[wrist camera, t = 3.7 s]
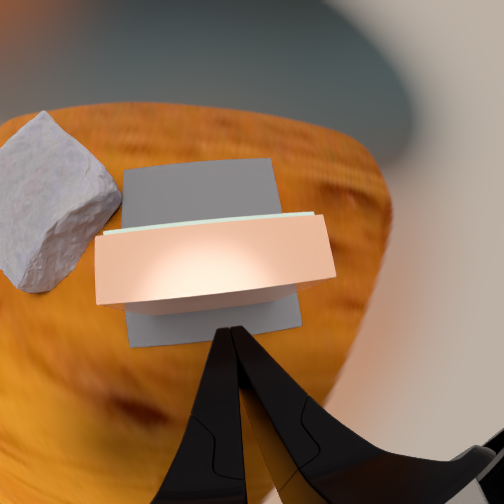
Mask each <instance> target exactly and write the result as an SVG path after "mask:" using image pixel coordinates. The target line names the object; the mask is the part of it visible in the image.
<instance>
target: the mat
mask: <svg viewBox="0 0 504 504" xmlns="http://www.w3.org/2000/svg"><path fill="white" fill-rule="evenodd" d="M269 214H282V210H281V205H280V200H279V195H278V190H277V186H276V181H275V176H274V172H273V167H272V163H271V158H260V159H232V160H215V161H201V162H189V163H178V164H168V165H160V166H151V167H143V168H136V169H129V170H124V179H123V196H122V229H125V228H133V227H142V226H150V225H159V224H168V223H177V222H187V221H197V220H208V219H219V218H230V217H242V216H255V215H269ZM125 313H126V322H127V331H128V339H129V346H130V348H132V347H149V346H162V345H174V344H184V343H194V342H203V341H211V340H213V338H214V335H215V331H216V329H217V328H222V327H229V328H230V327H231V326H239V325H242V326H243V327H244V328H245V329H246V330H247V331H248V332H249V333H250V334H251V335H254V334H260V333H266V332H272V331H278V330H283V329H289V328H294V327H299V326H302V320H301V314H300V308H299V302H298V296H297V293H294V294H292V295H289V296H287V297H284V298H281V299H279V300H276V301H273V302H266V303H260V304H253V305H245V306H238V307H230V308H222V309H214V310H205V311H197V312H187V313H178V314H167V315H156V316H148V315H143V314H138V313H133V312H128V311H125Z"/></svg>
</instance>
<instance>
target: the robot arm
mask: <svg viewBox="0 0 504 504" xmlns="http://www.w3.org/2000/svg"><path fill="white" fill-rule="evenodd" d="M239 392H240V395H241V398H242V401H243V404H244V406H245V409H246V412H247V415H248V418H249V420H250V423H251V426H252V429H253V431H254V434H255V437H256V439H257V442H258V445H259V447H260V450H261V452H262V455H263V457H264V460H265V462H266V465H267V467H268V470H269V472H270V475H271V477H272V480H273V482H274V485H275V487H276V489H277V492H278V494H279V496H280V499H281V501H282V503H283V504H504V428H503V429H502V430H500V431H499V432H498V433H497V434H495V435H494V436H493V437H492V438H490V439H489V440H488V441H487V442H486V443H485V444H483V445H482V446H478V445H474V446H472V447H470V448H468V449H467V450H465V451H464V452H462V453H461V454H460V455H458V456H456V457H455V458H453V459H452V460H450V461H436V460H429V459H422V458H416V457H410V456H405V455H399V454H394V453H391V452H387V451H384V450H382V449H380V448H378V447H376V446H374V445H372V444H371V443H369V442H368V441H366V440H365V439H363V438H362V437H360V436H359V435H357V434H356V433H354V432H353V431H352V430H350V429H349V428H347V427H346V426H345V425H343V424H342V423H340V422H339V421H338V420H337V419H335V418H334V417H333V416H331V415H330V414H329V413H328V412H327V411H326V410H324V409H323V408H322V407H321V406H320V405H319V404H318V403H317V402H316V401H315V400H314V399H313V398H312V397H311V396H309V395H308V394H307V393H306V392H305V391H304V390H303V389H302V388H301V387H300V386H299V385H298V384H297V383H296V382H295V380H294V379H293V378H292V377H291V376H290V375H289V374H288V373H287V372H286V371H285V370H284V369H283V368H282V367H281V366H280V365H279V364H278V363H277V362H276V361H275V360H274V359H273V358H272V357H271V356H270V355H269V354H268V352H267V351H266V350H265V349H264V348H263V347H262V346H261V345H260V344H259V343H258V342H257V341H256V340H255V338H254V337H253V336H252V335H251V334H250V333H249V332H248V331H247V330H246V329H245V328H244V327H243V326H242V325H239V326H231V327H230V328H229V327H222V328H217V329H216V331H215V335H214V338H213V341H212V344H211V348H210V351H209V354H208V357H207V361H206V364H205V367H204V370H203V374H202V377H201V380H200V384H199V387H198V390H197V394H196V397H195V400H194V404H193V407H192V410H191V415H190V417H189V420H188V423H187V427H186V429H185V432H184V435H183V438H182V441H181V443H180V446H179V448H178V450H177V453H176V455H175V457H174V459H173V461H172V464H171V466H170V468H169V470H168V472H167V474H166V476H165V478H164V480H163V482H162V484H161V486H160V488H159V490H158V492H157V494H156V495H155V497H154V498H153V500H152V501H151V503H150V504H248V502H247V492H246V482H245V468H244V456H243V443H242V429H241V414H240V399H239Z"/></svg>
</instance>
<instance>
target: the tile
mask: <svg viewBox="0 0 504 504" xmlns="http://www.w3.org/2000/svg"><path fill="white" fill-rule="evenodd" d="M335 277H336V272H335V267H334V262H333V257H332V253H331V248H330V243H329V239H328V235H327V230H326V226H325V222H324V218H323V215H314V212H299V213H283V214H269V215H255V216H242V217H230V218H219V219H208V220H197V221H187V222H177V223H168V224H159V225H150V226H142V227H133V228H125V229H117V230H109V231H103V235H101V236H95V285H96V303H97V305H100V306H104V307H109V308H113V309H118V310H123V311H128V312H133V313H138V314H143V315H148V316H156V315H167V314H178V313H187V312H197V311H205V310H214V309H222V308H230V307H238V306H245V305H253V304H260V303H266V302H273V301H276V300H279V299H281V298H284V297H287V296H289V295H292V294H294V293H297V292H300V291H302V290H305V289H307V288H310V287H312V286H315V285H317V284H320V283H322V282H325V281H327V280H330V279H332V278H335Z"/></svg>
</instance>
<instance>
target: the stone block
mask: <svg viewBox="0 0 504 504" xmlns="http://www.w3.org/2000/svg"><path fill="white" fill-rule="evenodd" d="M121 202H122V195H121V192H120V191H119V189H118V187H117V185H116V183H115V181H114V180H113V177H112V176H111V175H110V174H109V173H108V171H107V170H106V168H105V167H104V165H103V164H101V163H100V162H99V161H98V160H97V159H96V158H95V157H94V156H93V155H92V154H91V153H90V152H89V151H88V150H87V149H86V148H85V147H84V146H83V145H81V144H80V143H79V142H78V141H77V140H76V139H75V138H73V137H72V136H71V135H69V134H67V133H66V132H65V131H64V130H63V129H61V128H60V126H59V125H58V124H57V123H56V122H55V121H54V120H53V119H52V117H51V116H50V115H49V114H48V113H47V112H46V111H42V112H40V113H39V114H38V115H37V116H36V117H35V118H34V119H32V120H31V121H29V122H28V123H27V124H26V125H24V126H23V127H22V128H21V129H19V130H18V132H17V133H16V134H14V135H13V136H12V137H11V138H10V139H9V140H8V141H7V142H6V143H5V144H4V145H3V146H2V147H1V148H0V269H1V270H2V271H4V275H5V276H7V277H8V278H9V280H10V281H11V282H12V283H13V285H14V286H15V287H16V288H17V289H20V290H22V291H24V292H28V293H38V292H40V293H41V292H45V291H51V290H52V289H53V288H55V287H56V285H57V284H58V283H59V282H60V281H61V280H63V279H64V278H65V277H66V276H68V275H69V273H70V272H72V271H73V270H74V269H75V266H76V264H77V263H78V261H79V259H80V257H81V256H82V254H83V253H84V252H85V250H86V248H87V245H88V243H89V242H90V241H91V239H92V238H93V237H94V236H95V235H96V234H97V233H98V232H99V231H100V230H101V229H102V228H103V227H104V225H105V224H106V222H107V221H108V220H109V218H110V217H111V216H112V214H113V213H114V212H115V211H116V210H117V209H118V207H119V206H120V204H121Z"/></svg>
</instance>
